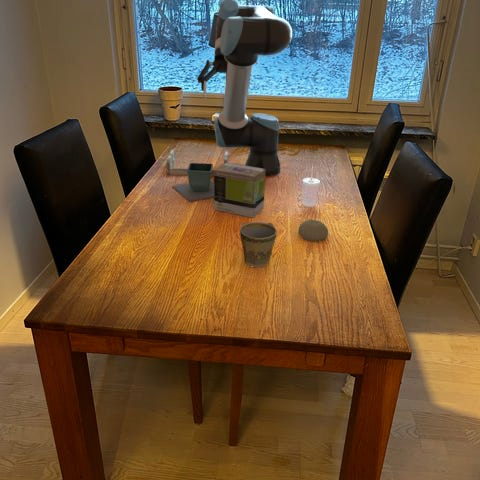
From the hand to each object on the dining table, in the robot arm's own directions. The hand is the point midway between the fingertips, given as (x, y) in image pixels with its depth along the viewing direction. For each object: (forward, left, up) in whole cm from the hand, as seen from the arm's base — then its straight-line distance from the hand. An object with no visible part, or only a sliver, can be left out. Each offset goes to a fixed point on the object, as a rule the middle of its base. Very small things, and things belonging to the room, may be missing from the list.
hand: (221, 97), depth 187 cm
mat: (-21, +20, -29) cm, 41 cm away
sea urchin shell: (-70, +4, -30) cm, 76 cm away
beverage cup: (-49, -10, -29) cm, 58 cm away
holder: (+2, +10, -29) cm, 31 cm away
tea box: (-42, +15, -30) cm, 54 cm away
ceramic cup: (-75, +27, -29) cm, 85 cm away
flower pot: (-21, +19, -29) cm, 41 cm away
